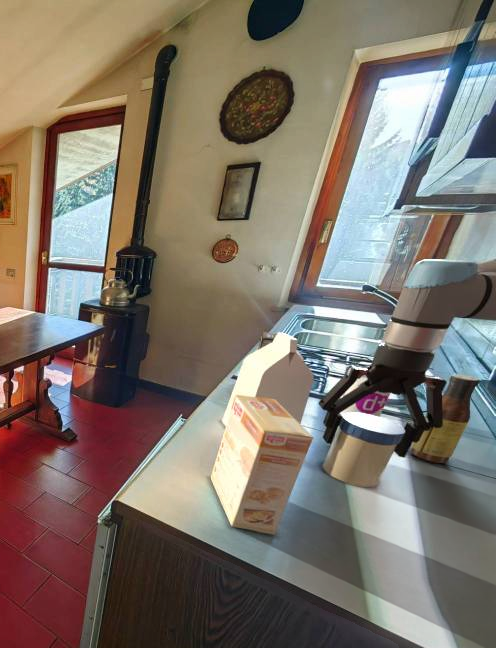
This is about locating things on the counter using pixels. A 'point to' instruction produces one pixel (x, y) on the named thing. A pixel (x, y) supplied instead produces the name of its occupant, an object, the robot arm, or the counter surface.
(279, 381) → the milk
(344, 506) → the counter surface
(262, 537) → the counter surface
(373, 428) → the lid
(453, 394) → the sauce bottle
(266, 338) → the coffee box
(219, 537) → the counter surface
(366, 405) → the supplement can
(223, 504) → the coffeecake box
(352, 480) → the jar
